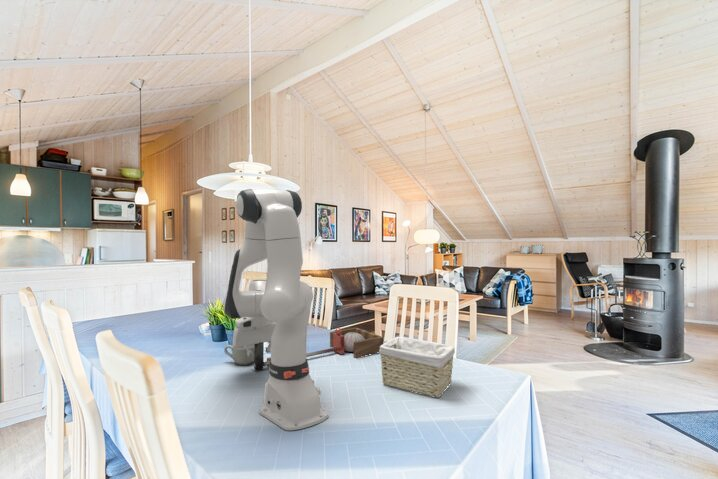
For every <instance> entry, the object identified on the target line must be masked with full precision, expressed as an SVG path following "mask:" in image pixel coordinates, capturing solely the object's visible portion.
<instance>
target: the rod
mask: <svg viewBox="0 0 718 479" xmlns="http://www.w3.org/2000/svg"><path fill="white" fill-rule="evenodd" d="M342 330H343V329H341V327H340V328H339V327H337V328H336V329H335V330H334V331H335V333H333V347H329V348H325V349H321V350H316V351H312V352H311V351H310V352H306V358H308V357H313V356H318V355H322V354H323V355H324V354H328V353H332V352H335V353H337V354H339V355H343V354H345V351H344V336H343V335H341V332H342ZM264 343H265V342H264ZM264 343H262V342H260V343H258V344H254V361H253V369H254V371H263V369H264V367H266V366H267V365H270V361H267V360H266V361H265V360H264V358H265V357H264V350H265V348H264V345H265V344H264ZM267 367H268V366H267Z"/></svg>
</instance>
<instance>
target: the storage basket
mask: <svg viewBox="0 0 718 479" xmlns="http://www.w3.org/2000/svg"><path fill="white" fill-rule="evenodd" d="M455 352H456V351H455V347H454V346H453V345H450V344H449V345H448V344H445V343H440V342H434V341H430V340H429V341H427V340H424V339H423V340H422V339H417V338H412V337H405V336H396V337H393V338H391V339H389V340H388V341H385V342H383V345H381V346H380V350H379V353H378V354H380V361H381V376H382V378H381V379H382V384H383V385H386V386H388V385H389V387H394V388H398V389H401V390H405V389H406V391H409V392H412V391H413V392H412V393H414V392H417V393H421V395H424V394H425V395H424V396H428V395H429V396H428V397H432V396H434V397H433V398H435V397H440V396H441V394H442V393H443V392H444V390H445V389H446V388H447V386H449V384H450V383H452V374H453V368H454V365H453V362H454V361H453V360H454V355H455ZM450 385H451V384H450ZM449 387H450V386H449ZM417 393H416V394H417ZM444 393H445V392H444ZM444 393H443V394H444ZM441 397H442V396H441ZM441 397H440V398H441Z"/></svg>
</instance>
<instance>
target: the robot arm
mask: <svg viewBox="0 0 718 479" xmlns="http://www.w3.org/2000/svg"><path fill="white" fill-rule="evenodd" d="M302 204H303V201H302V199H301V197H300V194H298V193H297V192H296V191H293V190H289V189H287V190H281V189H273V188H257V189H252V188H248V189H244V190H241V191H239V193H238V194H237V196H236V202H235V209H236V212H237V215H238V216H239V218H241V219H242V220H243V221H245V228H244V241H243V243H242V246H241V247H240V249H237V250H236V251H235V254H234V256H233V261H232V265H231V270H230V274H229V281H228V285H227V292H226V295H225V297H224V301H223V306H222V309H223V312H224V315H225V316H227V317H228V318H229V319H231V320H235V319H236V320H235V325H236V326H235V327H234V328H233V333H232V345H233V344H234V345H235V346H236V347H240V346H244V347H245V349H246V350H247V355H248V356H252V351H251V350H249V349H248V348H249V347H250V345H252V344H258V343H260V342H262V343H268V344H267V347H265V353H267V354H268V353H270V357H271V361H270V365H269V367H268V373H269V376H268V379H267V381H266V383H265V384H264V394H263V395H264V396H263V406H261V407H260V408H259V411H258V413H259V414H260V415H261V416H263V418H266V419H267V420H269V421H270V422H272V423H273V424H275V425H277V426H279V427H280V428H281V429H283V430H284V431H296V430H297V431H298V430H301V429H305V428H309V427H311V426H314V425H317V424H319V423H322V422H323V421H326V419H328V417H329V412H328V411H327V409H326V408H325V407H324V405H323V404H322V403H321V398H320V396H321V394H322V390H321V388H320V387H316V385H315V381H314V379H312V377H311V375H310V367H309V363H308V361H309V360H308V359H307V357H306V353H307V335H308V334H307V333H308V328H309V321H310V314H311V306H312V302H313V298H314V291H313V289H312V287H311V286H310V285H309V284H308V283H306V282H304V281H302V280H301V274H302V273H301V272H302V267H303V262H304V258H303V246H302V238H301V230H300V225H299V224H300V223H299V221H298V217H299V216H300V215H301V213H302V208H303V205H302ZM265 260H267V270H266V271H267V272H266V278H265V279H253V280H251V281H249V286H248V290H247V291H245V290H244V291H242V290H240V286H241V280H242V275H243V272H244V271H245V269H247V268H248V267H250V266H252V265H256V264H258V263H261V262H263V261H265Z"/></svg>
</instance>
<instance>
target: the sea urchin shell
mask: <svg viewBox="0 0 718 479" xmlns="http://www.w3.org/2000/svg"><path fill="white" fill-rule="evenodd" d="M361 340H365V338H364V337H363V336H362V335H361V334H358V333H355V332H351V333H347V334H345V335H344V352H347V353H348V352H349V353H350V352H352V353H354V342H356V341H361Z"/></svg>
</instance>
